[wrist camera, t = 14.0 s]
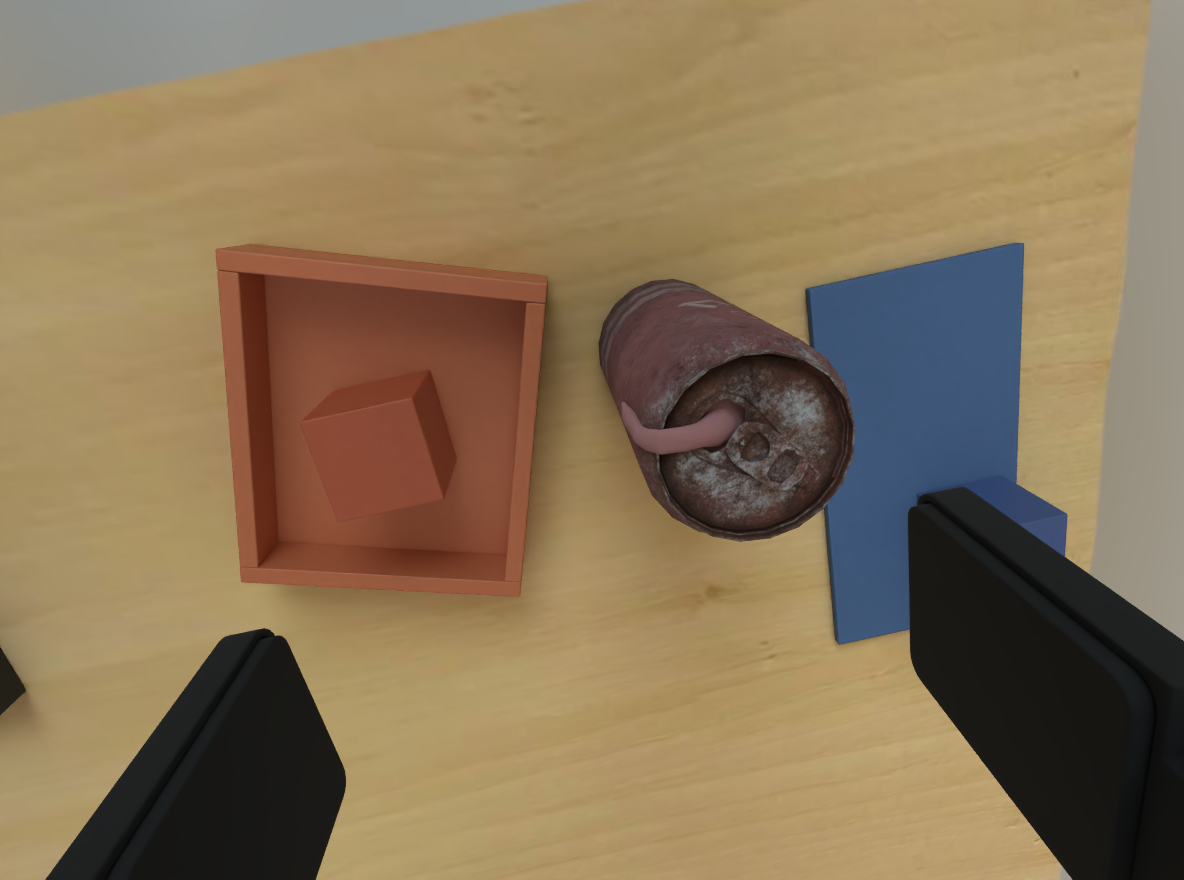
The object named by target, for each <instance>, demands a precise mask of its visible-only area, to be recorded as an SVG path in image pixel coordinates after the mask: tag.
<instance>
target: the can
mask: <svg viewBox="0 0 1184 880" xmlns="http://www.w3.org/2000/svg"><path fill="white" fill-rule="evenodd" d="M599 356H600V365H601V368H602V370H603V373H604V375H605V378H606V381H607V383H608V386H609V388H610V391H611V393H612V396H613V399H614V401H615V404H616V406H617V409H618V411H619V414H620V417H621V419H622V422H623V424H624V427H625V430H626V432H627V435H628V437H629V440H630V442H631V445H632V448H633V450H634V453H635V455H636V458H637V460H638V463H639V466H640V468H641V470H642V473H643V475H644V478H645V480H646V482H647V485H648V487H649V489H650V492H651V494H652V496H653V497H654V498H655V499H656V500H657V501H658V502H659V503H660V505H661V506H662V507H663V508H664V509H665V510H666V511H667V512H668V513H669V514H670V515H671V516H672V517H673V518H674V519H676V520H678V521H680V522H682V523H684V524H686V525H687V526H689V527H691V528H693V529H695V530H697V531H699V532H703V533H707V534H709V535H710V536H713V537H718V538H724V539H729V540H735V541H740V542H741V541H750V540H760V539H769V538H772V537H775V536H777V535H780V534H782V533H785V532H787V531H790V530H792V529H795V528H797V527H799V526H801V525H802V524H803V523H805V522H806V521H807V520H809V519H810V518H811V517H813V516H814V515H815V514H817V513H818V512H819V511H821V510H822V509H823V508H824V507H825V506H826V505H827V503H828V502H829V501H830V499H831V498H832V497H833V496H834V494H835V493H836V492H837V490H838V489H839V488H840V486H841V485H842V484H843V481H844V479H845V476H846V474H847V471H848V469H849V466H850V464H851V461H852V458H853V456H854V441H855V423H854V419H853V410H852V407H851V403H850V400H849V396H848V393H847V389H846V385H845V382H844V381H843V379H842V378H841V377H840V375H839V374H838V373H837V371H836V370H835V368H834V367H833V366H832V364H831V363H830V362H829V360H828V359H827V357H826V356H824V355H823V354H821V353H820V352H818V351H816V350H815V349H813V348H812V347H810V346H809V345H807V344H806V343H804V342H803V341H801V340H800V339H798V338H796V337H794V336H792V335H790V334H789V333H787V332H785V331H783V330H781V329H779V328H777V327H775V326H773V325H771V324H769V323H767V322H765V321H764V320H762V319H760V318H758V317H756V316H754V315H752V314H750V313H748V312H746V311H744V310H742V309H740V308H739V307H737V306H735V305H733V304H731V303H729V302H727V301H725V300H723V299H721V298H719V297H717V296H715V295H714V294H712V293H710V292H708V291H706V290H704V289H702V288H700V287H698V286H696V285H694V284H691V283H687V282H683V281H679V280H675V279H670V280H658V281H651V282H648V283H646V284H644V285H641V286H639V287H637V288H634V289H632V290H631V291H630V292H628V293H627V294H626V295H625V296H624V297H623V298H622V299H620V300H619V301H618V302H617V303H616V304H615V305H614V307H613V308H612V310H611V312H610V313H609V315H608V316H607V318H606V320H605V321H604V323H603V327H602V332H601V336H600V340H599Z"/></svg>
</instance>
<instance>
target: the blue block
mask: <svg viewBox="0 0 1184 880" xmlns="http://www.w3.org/2000/svg"><path fill="white" fill-rule="evenodd" d="M956 487H965V488H968V489H970V490H971V491H972V492H974V493H975V494H977V495H978V496H979V497H981V498H982V499H984V500H985V501H986V502H988V503H989V504H991V505H992V506H994V507H995V508H996V509H998V510H999V511H1001V512H1002V513H1003V514H1005V515H1006V516H1008V517H1009V518H1011V519H1012V520H1013V521H1015V522H1016V523H1018V524H1019V525H1020V526H1022V527H1023V528H1025V529H1026V530H1027V531H1029V532H1030V533H1032V534H1033V535H1035V536H1036V537H1037V538H1039V539H1040V540H1042V541H1043V542H1044V543H1046V544H1047V545H1049V546H1050V547H1051V548H1053V549H1054V550H1056V551H1057V552H1059V553H1060V554H1061V555H1063V556H1064V557H1065V546H1066V530H1067V514H1066V513H1065V512H1063V511H1061V510H1060V509H1058V508H1056V507H1054V506H1053V505H1051V504H1049V503H1048V502H1046V501H1044V500H1043V499H1041V498H1039V497H1037V496H1036V495H1034V494H1032V493H1031V492H1029V491H1027V490H1026V489H1024V488H1022V487H1021V486H1019V485H1017V484H1015V483H1014V482H1012V481H1010V480H1009V479H1007V478H1005V477H1004V476H996V477H992V478H987V479H983V480H978V481H974V482H969V483H965V484H960V485H955V486H951V487H946V488H942V489H937V490H933V491H928V492H924V493H919V494H917V504H918V500H919V498H920V496H922V495H923V494H927V493H932V492H937V491H942V490H947V489H951V488H956Z"/></svg>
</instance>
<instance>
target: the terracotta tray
mask: <svg viewBox="0 0 1184 880" xmlns="http://www.w3.org/2000/svg"><path fill="white" fill-rule="evenodd" d="M216 261H217V269H218V270H219V271H218V272H217V274H218V287H219V300H220V313H221V326H222V339H223V352H224V364H225V377H226V390H227V403H228V416H229V429H230V442H231V455H232V468H233V481H234V494H235V507H236V520H237V533H238V546H239V559H240V566H241V567H240V574H241V582H246V583H265V584H284V585H303V586H322V587H341V588H360V589H379V590H398V591H418V592H437V593H456V594H475V595H494V596H513V597H520V593H521V581H522V571H523V559H524V548H525V537H526V525H527V514H528V503H529V491H530V480H531V469H532V457H533V446H534V435H535V423H536V412H537V401H538V389H539V378H540V367H541V355H542V344H543V333H544V321H545V310H546V299H547V287H548V285H547V277H546V276H542V275H533V274H524V273H514V272H505V271H496V270H486V269H477V268H468V267H458V266H449V265H440V264H430V263H421V262H412V261H403V260H393V259H384V258H375V257H365V256H356V255H347V254H337V253H328V252H319V251H309V250H300V249H291V248H281V247H272V246H263V245H253V244H247V245H241V246H234V247H227V248H220V249H216ZM426 370H430V371H431V375H432V378H433V381H434V385H435V388H436V391H437V395H438V398H439V401H440V405H441V408H442V411H443V415H444V418H445V421H446V425H447V428H448V431H449V434H450V438H451V441H452V444H453V448H454V451H455V454H456V458H457V460H456V463H455V467H454V470H453V473H452V476H451V479H450V482H449V486H448V489H447V492H446V495H445V498H444V499H443V500H440V501H436V502H431V503H426V504H422V505H417V506H413V507H408V508H404V509H399V510H395V511H390V512H385V513H381V514H376V515H372V516H367V517H363V518H358V519H353V520H349V521H344V522H340V523H338V522H337V519H336V517H335V514H334V512H333V509H332V506H331V504H330V501H329V499H328V496H327V493H326V491H325V488H324V486H323V483H322V480H321V478H320V475H319V473H318V470H317V468H316V465H315V462H314V460H313V457H312V455H311V452H310V449H309V447H308V444H307V442H306V439H305V436H304V434H303V431H302V429H301V426H300V421H301V420H302V419H303V418H305V417H306V416H307V415H308V414H309V413H310V412H311V411H312V410H313V409H314V408H315V407H316V406H318V405H319V404H320V403H321V402H322V401H323V400H324V399H325V398H326V397H327V396H328V395H329V394H331V393H332V392H333V391H335V390H339V389H344V388H348V387H353V386H358V385H362V384H367V383H371V382H376V381H380V380H385V379H390V378H394V377H399V376H403V375H408V374H413V373H417V372H422V371H426Z"/></svg>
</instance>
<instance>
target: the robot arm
mask: <svg viewBox="0 0 1184 880" xmlns="http://www.w3.org/2000/svg"><path fill="white" fill-rule="evenodd" d="M908 562H909V614H910V654H911V660H912V664H913V666H914V669H915V671H916V673H917V675H918V677H919V678H920V680H921V681H922V683H923V684H924V685H925V687H926V688H927V689H928V691H929V692H930V693H931V695H932V696H933V697H934V698H935V700H936V701H937V702H938V704H939V705H940V706H941V708H942V709H943V710H944V712H945V713H946V714H947V716H948V717H949V718H950V719H951V721H952V722H953V723H954V725H955V726H956V727H957V729H958V730H959V731H960V733H961V734H962V735H963V737H964V738H965V739H966V740H967V742H968V743H969V744H970V746H971V747H972V748H973V750H974V751H975V752H976V754H977V755H978V756H979V758H980V759H981V760H982V761H983V763H984V764H985V765H986V767H987V768H988V769H989V771H990V772H991V773H992V775H993V776H994V777H995V779H996V780H997V781H998V782H999V784H1000V785H1001V786H1002V788H1003V789H1004V790H1005V792H1006V793H1007V794H1008V796H1009V797H1010V798H1011V800H1012V801H1013V802H1014V803H1015V805H1016V806H1017V807H1018V809H1019V810H1020V811H1021V813H1022V814H1023V815H1024V817H1025V818H1026V819H1027V821H1028V822H1029V823H1030V824H1031V826H1032V827H1033V828H1034V830H1035V831H1036V832H1037V834H1038V835H1039V836H1040V838H1041V839H1042V840H1043V842H1044V843H1045V844H1046V845H1047V847H1048V848H1049V849H1050V851H1051V852H1052V853H1053V855H1054V856H1055V857H1056V859H1057V860H1058V861H1059V863H1060V864H1061V865H1062V866H1063V868H1064V869H1065V870H1066V872H1067V873H1068V874H1069V876H1070V877H1071V878H1072V880H1184V641H1183V640H1181V639H1180V638H1179V637H1177V636H1176V635H1174V634H1173V633H1172V632H1170V631H1169V630H1167V629H1166V628H1164V627H1163V626H1162V625H1160V624H1159V623H1157V622H1156V621H1155V620H1153V619H1152V618H1150V617H1149V616H1148V615H1146V614H1145V613H1143V612H1142V611H1140V610H1139V609H1138V608H1136V607H1135V606H1133V605H1132V604H1131V603H1129V602H1128V601H1126V600H1125V599H1124V598H1122V597H1121V596H1119V595H1118V594H1116V593H1115V592H1114V591H1112V590H1111V589H1109V588H1108V587H1107V586H1105V585H1104V584H1102V583H1101V582H1099V581H1098V580H1097V579H1095V578H1094V577H1092V576H1091V575H1090V574H1088V573H1087V572H1085V571H1084V570H1083V569H1081V568H1080V567H1078V566H1077V565H1075V564H1074V563H1073V562H1071V561H1070V560H1068V559H1067V558H1066V557H1064V556H1063V555H1061V554H1060V553H1059V552H1057V551H1056V550H1054V549H1053V548H1051V547H1050V546H1049V545H1047V544H1046V543H1044V542H1043V541H1042V540H1040V539H1039V538H1037V537H1036V536H1035V535H1033V534H1032V533H1030V532H1029V531H1027V530H1026V529H1025V528H1023V527H1022V526H1020V525H1019V524H1018V523H1016V522H1015V521H1013V520H1012V519H1011V518H1009V517H1008V516H1006V515H1005V514H1003V513H1002V512H1001V511H999V510H998V509H996V508H995V507H994V506H992V505H991V504H989V503H988V502H986V501H985V500H984V499H982V498H981V497H979V496H978V495H977V494H975V493H974V492H972V491H971V490H970V489H968V488H965V487H956V488H951V489H947V490H942V491H937V492H932V493H927V494H923V495H922V496H920V498H919V500H918V504H917V506H913V507H911V508H910V509H909V512H908ZM345 787H346V775H345V770H344V767H343V764H342V762H341V760H340V758H339V755H338V753H337V751H336V749H335V746H334V744H333V742H332V740H331V738H330V735H329V733H328V731H327V729H326V726H325V724H324V722H323V720H322V718H321V715H320V713H319V711H318V709H317V707H316V704H315V702H314V700H313V698H312V695H311V693H310V691H309V689H308V687H307V684H306V682H305V680H304V678H303V675H302V673H301V671H300V669H299V667H298V664H297V662H296V660H295V658H294V655H293V653H292V651H291V649H290V647H289V644H288V642H287V641H286V639H285V638H284V637H282V636H275V635H274V633H273V632H271V631H270V630H269V629H265V628H264V629H259V630H254V631H249V632H244V633H239V634H234V635H229V636H226V637H224V638H223V639H222V640H221V641H220V642H219V643H218V644H217V645H216V647H215V648H214V649H213V651H212V652H211V654H210V655H209V656H208V658H207V659H206V660H205V662H204V663H203V665H202V666H201V667H200V669H199V670H198V671H197V673H196V674H195V676H194V677H193V678H192V680H191V681H190V682H189V684H188V685H187V686H186V688H185V689H184V691H183V692H182V693H181V695H180V696H179V697H178V699H177V700H176V702H175V703H174V704H173V706H172V707H171V708H170V710H169V711H168V713H167V714H166V715H165V717H164V718H163V719H162V721H161V722H160V723H159V725H158V726H157V728H156V729H155V730H154V732H153V733H152V734H151V736H150V737H149V739H148V740H147V741H146V743H145V744H144V745H143V747H142V748H141V749H140V751H139V752H138V754H137V755H136V756H135V758H134V759H133V760H132V762H131V763H130V765H129V766H128V767H127V769H126V770H125V771H124V773H123V774H122V776H121V777H120V778H119V780H118V781H117V782H116V784H115V785H114V786H113V788H112V789H111V791H110V792H109V793H108V795H107V796H106V797H105V799H104V800H103V802H102V803H101V804H100V806H99V807H98V808H97V810H96V811H95V813H94V814H93V815H92V817H91V818H90V819H89V821H88V822H87V823H86V825H85V826H84V828H83V829H82V830H81V832H80V833H79V834H78V836H77V837H76V839H75V840H74V841H73V843H72V844H71V845H70V847H69V848H68V849H67V851H66V852H65V854H64V855H63V856H62V858H61V859H60V860H59V862H58V863H57V865H56V866H55V867H54V869H53V870H52V871H51V873H50V874H49V876H48V877H47V878H46V880H316V877H317V874H318V871H319V868H320V865H321V862H322V859H323V856H324V853H325V850H326V847H327V844H328V841H329V838H330V835H331V833H332V830H333V827H334V824H335V821H336V818H337V815H338V812H339V809H340V806H341V803H342V800H343V797H344V793H345Z"/></svg>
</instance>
